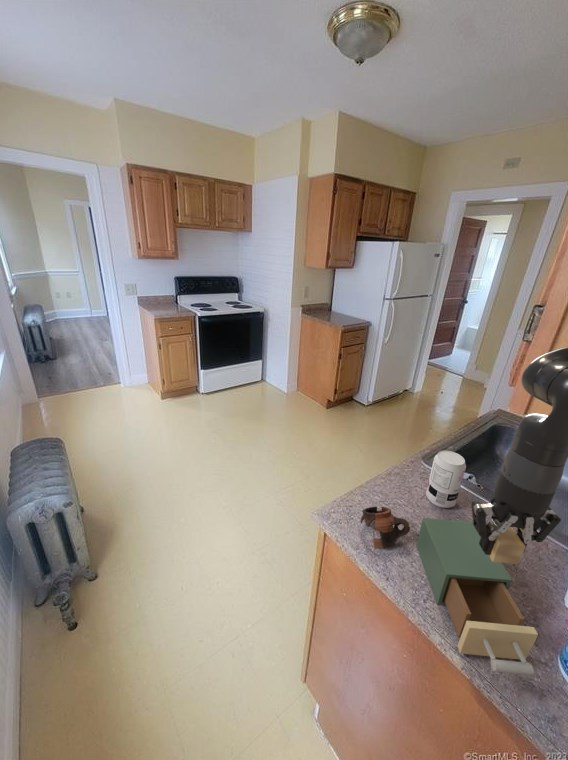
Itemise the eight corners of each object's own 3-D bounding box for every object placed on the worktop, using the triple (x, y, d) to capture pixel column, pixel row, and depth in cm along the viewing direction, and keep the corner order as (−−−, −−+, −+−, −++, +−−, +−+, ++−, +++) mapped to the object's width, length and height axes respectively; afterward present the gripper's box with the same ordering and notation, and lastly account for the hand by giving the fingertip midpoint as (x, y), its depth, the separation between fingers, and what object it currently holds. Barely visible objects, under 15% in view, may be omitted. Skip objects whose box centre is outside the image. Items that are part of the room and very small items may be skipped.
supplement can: (422, 488, 100) (431, 448, 95) (450, 491, 99) (461, 450, 94) (429, 507, 93) (440, 464, 87) (459, 511, 92) (472, 467, 86)
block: (504, 543, 61) (511, 526, 59) (518, 564, 57) (525, 546, 55) (480, 541, 61) (486, 524, 60) (492, 562, 57) (499, 543, 56)
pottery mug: (362, 550, 80) (358, 515, 81) (364, 536, 89) (360, 505, 90) (413, 550, 76) (408, 514, 77) (410, 536, 85) (405, 504, 86)
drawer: (542, 692, 53) (557, 666, 51) (471, 684, 54) (482, 658, 51) (487, 587, 70) (496, 563, 67) (433, 582, 71) (440, 558, 68)
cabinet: (499, 610, 66) (512, 580, 63) (437, 604, 67) (446, 574, 64) (467, 550, 80) (476, 522, 76) (416, 545, 81) (422, 518, 77)
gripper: (495, 488, 50) (468, 566, 56) (593, 496, 49) (554, 575, 55) (473, 459, 57) (451, 532, 63) (558, 466, 56) (527, 539, 62)
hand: (499, 551), depth 59 cm, fingers closed on block, 4 cm apart
